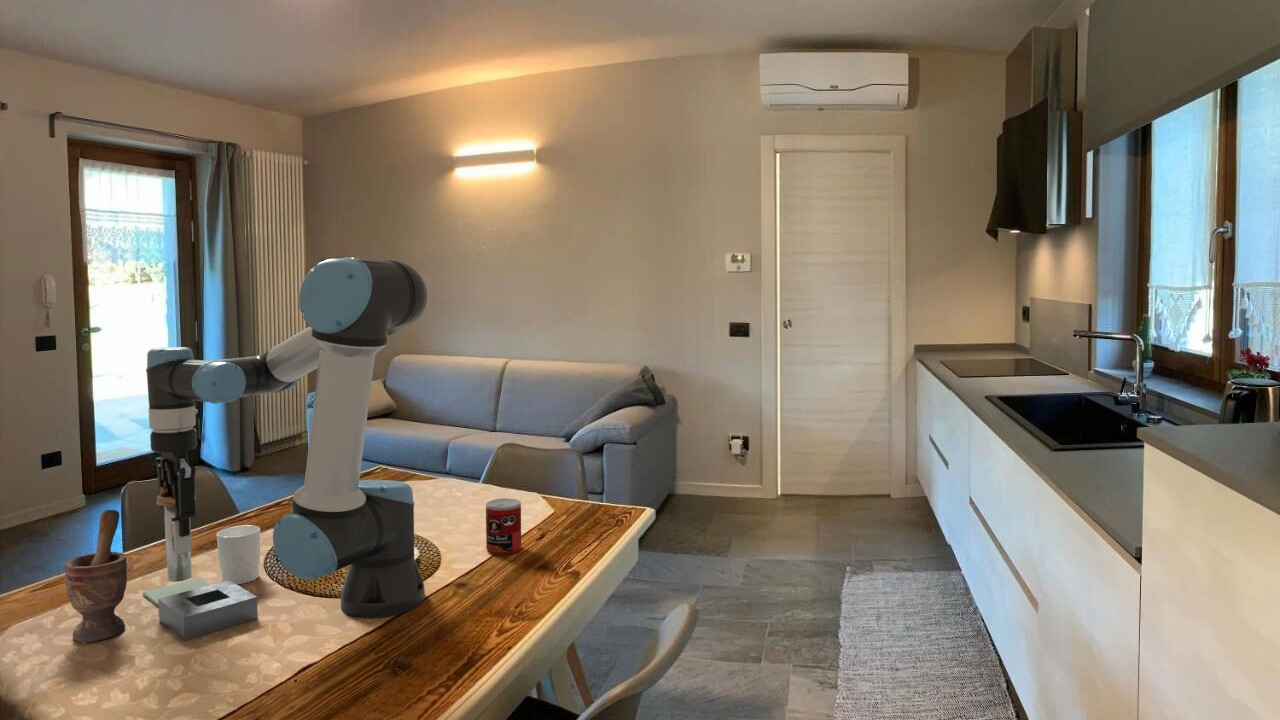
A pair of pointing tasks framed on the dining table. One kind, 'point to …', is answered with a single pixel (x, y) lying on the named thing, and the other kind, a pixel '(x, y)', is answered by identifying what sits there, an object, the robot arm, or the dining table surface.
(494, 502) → the canned food
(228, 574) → the white cup
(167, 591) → the mat
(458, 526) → the dining table surface
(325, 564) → the robot arm
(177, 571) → the steel peg
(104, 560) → the mortar and pestle
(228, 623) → the block
